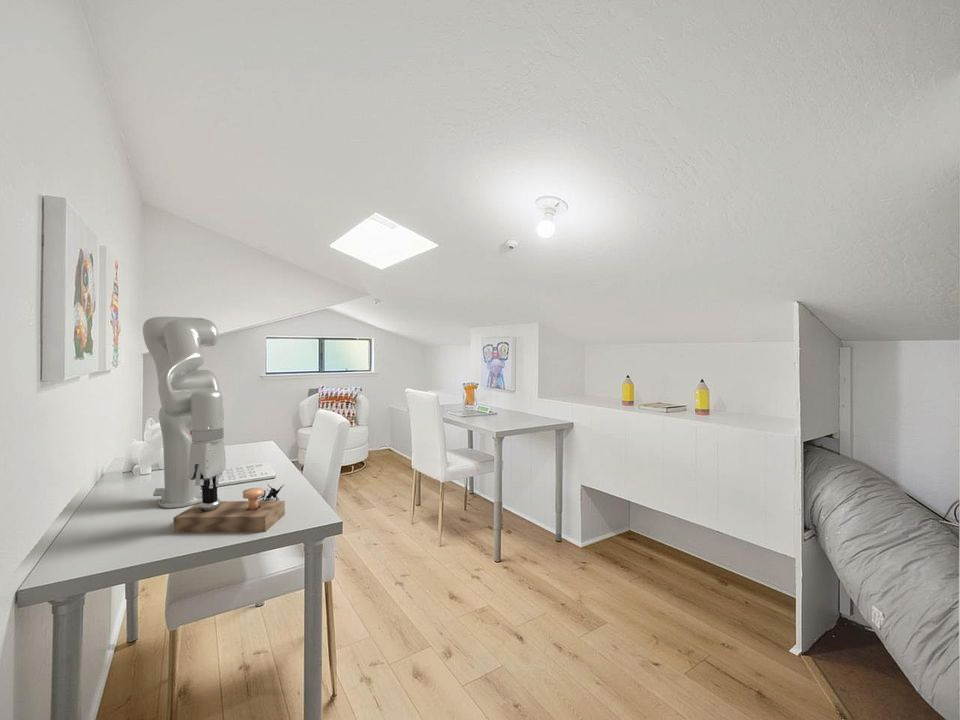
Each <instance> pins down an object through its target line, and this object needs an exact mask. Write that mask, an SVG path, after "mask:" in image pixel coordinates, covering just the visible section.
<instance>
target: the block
mask: <svg viewBox="0 0 960 720" xmlns="http://www.w3.org/2000/svg"><path fill="white" fill-rule="evenodd" d="M199 503H200V502H199ZM199 503H196V504H193V505H192V506H191V507H189V508H188V509H186V510H184V511H182V512H180V513H178V514H177V515H175V516H174V517H173V519H172V520H173V533H239V532H240V533H242V532H243V533H251V532H253V533H255V532H256V533H257V532H258V533H259V532H263V533H265V532H267V531H268V530H269V529H271V527H272V526H274V525H275V524H276V523H277V522H279V520H280V519H282V518H283V517H284V516H285V515H286V512H285V511H286V508H285V507H286V506H285V505H286V504H285V500H277V501H276V500H268V501H264V500H263V501H261V500H258V510H250V511H249V504H248V500H239V501H234V500H229V501H228V500H227V501H226V500H225V501H221V500H220V506H219V507H217V508H215V509H214V510H213V511H205V510H200V509H199Z"/></svg>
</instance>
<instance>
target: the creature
mask: <svg viewBox="0 0 960 720" xmlns="http://www.w3.org/2000/svg"><path fill="white" fill-rule="evenodd" d="M267 486H268V487H269V488H270V490H269V489H267V488H266V490H264V489H263V495H262V496H260V497H258V500H260V501H270V499H272V498H273V499H275V501H280V499H279V498H278V496H277V495H278V494H279V493H280V491H281V489H282V487H284V486H285V484H283V485H282V486H280V487H279V488H278V489H277V490H276V488H274V487H272V486H270V485H269V484H268V483H267ZM267 492H268V493H267ZM266 493H267V495H266ZM261 499H262V500H261Z"/></svg>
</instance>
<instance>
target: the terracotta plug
mask: <svg viewBox="0 0 960 720" xmlns="http://www.w3.org/2000/svg"><path fill="white" fill-rule="evenodd" d="M263 495H264V488H262V487H251V488H248V489H244V490H243V491H242V498H243V499H247V501H248V504H249V511H250V510H258V501H259V498H260V497H262V496H263Z"/></svg>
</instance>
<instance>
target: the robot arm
mask: <svg viewBox="0 0 960 720" xmlns="http://www.w3.org/2000/svg"><path fill="white" fill-rule="evenodd" d="M142 335H143V341H144V345H145V347H146V349H147V350H148V352H149V355H150V356H151V358H152V360H153V361H154V363H155V370H156V376H157V381H158V386H157V388H158V389H157V390H158V396H159V400H160V405H161V407H160V409H159V411H158V421H159V427H160V430H161V436H162V447H163V450H162V451H163V452H162V453H163V479H164V487H160V488H159V487H157V488H155V489H154V492H153V493H152V494H153V495H152V496H153V497H161V498H160V499H159V501H158V506H159V507H160V508H163V509H164V508H166V509H170V508H171V509H174V508H183V507H188V506H194V505H196V504H198V503H200V502H201V501H202V502H203V503H214V502H215V501H217V499H218V486H219V479H220V477H221V476H223V472H224V471H225V470H226V465H227V464H226V449H225V443H224V440H225V437H224V436H225V433H224V419H225V412H224V411H225V410H224V404H223V393H222V392H221V391H220V388H219V383H218V379H217V376H216V375H215V374H214V372H213V371H212V370H209V369H201V367H202V366H203V365H204V363H205V356H204V354H203V350H202V347H214V346H216V345H217V343H218V341H219V338H220V337H219V335H220V334H219V330H218V328H217V326H216V324H215V323H214V322H213V321H212V320H210V319H207V318H202V317H189V316H188V317H187V316H155V317H150V318H148V319H147V320H145V321H144V322H143V325H142Z"/></svg>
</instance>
